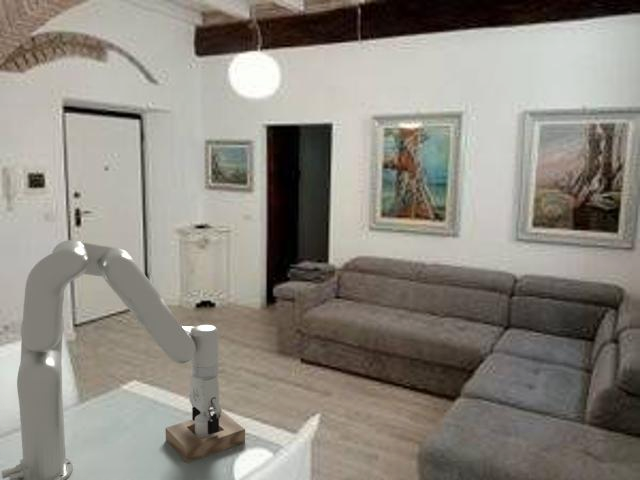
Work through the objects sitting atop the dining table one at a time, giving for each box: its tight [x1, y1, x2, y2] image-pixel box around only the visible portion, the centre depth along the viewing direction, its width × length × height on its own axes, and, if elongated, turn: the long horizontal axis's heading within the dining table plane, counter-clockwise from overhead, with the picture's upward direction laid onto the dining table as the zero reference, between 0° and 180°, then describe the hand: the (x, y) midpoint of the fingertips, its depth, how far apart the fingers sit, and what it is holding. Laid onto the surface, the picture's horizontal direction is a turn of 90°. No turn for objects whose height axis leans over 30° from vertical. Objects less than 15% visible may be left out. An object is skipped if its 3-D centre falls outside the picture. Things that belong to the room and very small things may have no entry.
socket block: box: [165, 410, 246, 464], centre depth 151 cm, size 18×14×4 cm
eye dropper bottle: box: [195, 412, 214, 438], centre depth 151 cm, size 4×6×12 cm
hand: (205, 425), depth 151 cm, fingers open, 9 cm apart
